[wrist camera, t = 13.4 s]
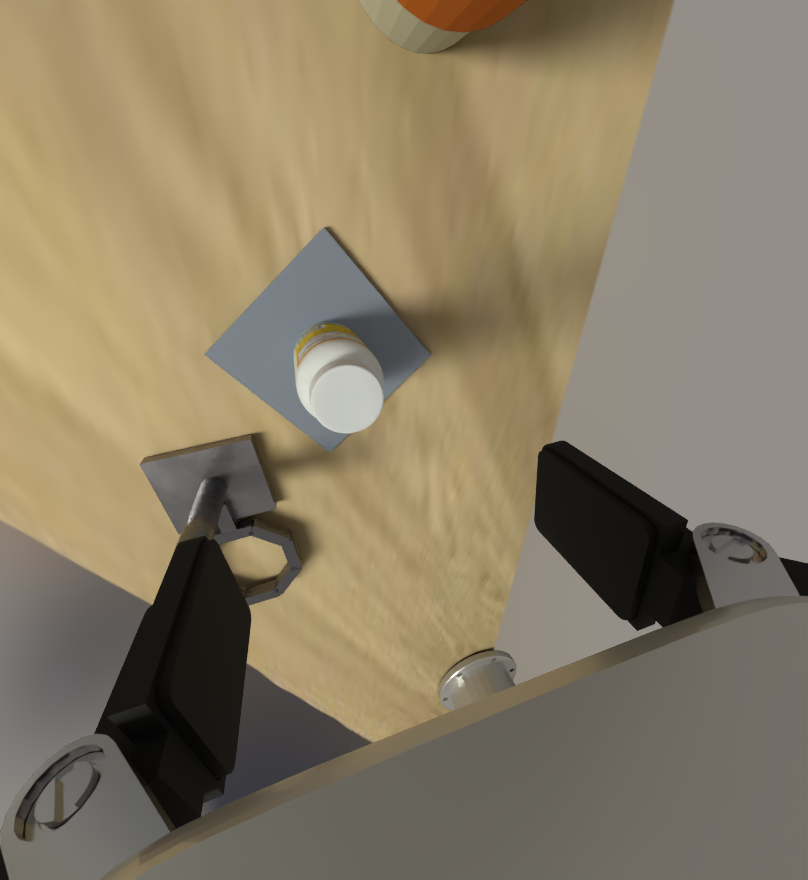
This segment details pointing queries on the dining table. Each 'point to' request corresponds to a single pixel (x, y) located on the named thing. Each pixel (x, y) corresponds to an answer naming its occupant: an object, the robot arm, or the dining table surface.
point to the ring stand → (222, 501)
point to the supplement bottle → (338, 378)
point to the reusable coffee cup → (434, 20)
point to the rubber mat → (298, 308)
